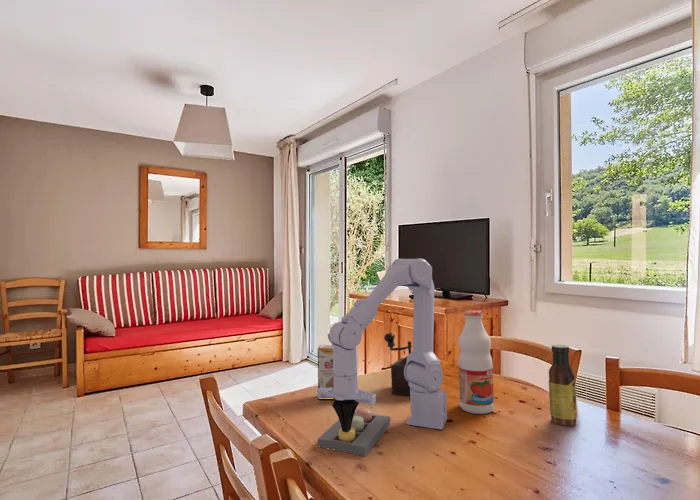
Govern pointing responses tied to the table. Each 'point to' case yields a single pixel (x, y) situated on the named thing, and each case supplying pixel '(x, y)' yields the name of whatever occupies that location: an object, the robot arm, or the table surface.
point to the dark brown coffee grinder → (398, 369)
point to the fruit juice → (475, 366)
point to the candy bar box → (325, 367)
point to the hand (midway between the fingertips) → (346, 430)
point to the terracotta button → (365, 414)
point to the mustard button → (347, 435)
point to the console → (356, 436)
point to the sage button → (358, 423)
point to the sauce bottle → (562, 388)
